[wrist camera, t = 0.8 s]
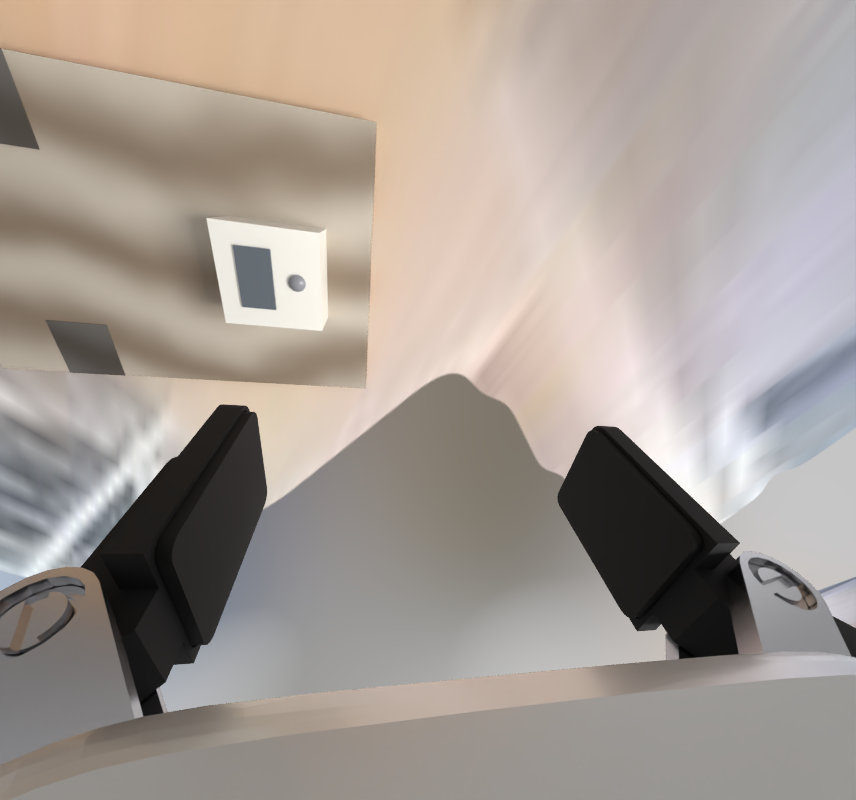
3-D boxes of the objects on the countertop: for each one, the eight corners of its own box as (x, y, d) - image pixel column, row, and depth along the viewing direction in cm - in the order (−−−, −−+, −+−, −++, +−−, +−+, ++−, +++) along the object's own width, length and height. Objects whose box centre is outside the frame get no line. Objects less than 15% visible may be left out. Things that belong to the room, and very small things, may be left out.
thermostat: (227, 215, 21) (205, 218, 18) (326, 229, 22) (318, 233, 19) (242, 309, 24) (225, 323, 21) (328, 317, 25) (321, 331, 22)
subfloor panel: (-171, 19, 16) (-211, 6, 15) (376, 125, 20) (376, 121, 19) (18, 361, 25) (2, 368, 24) (366, 381, 29) (365, 388, 28)
